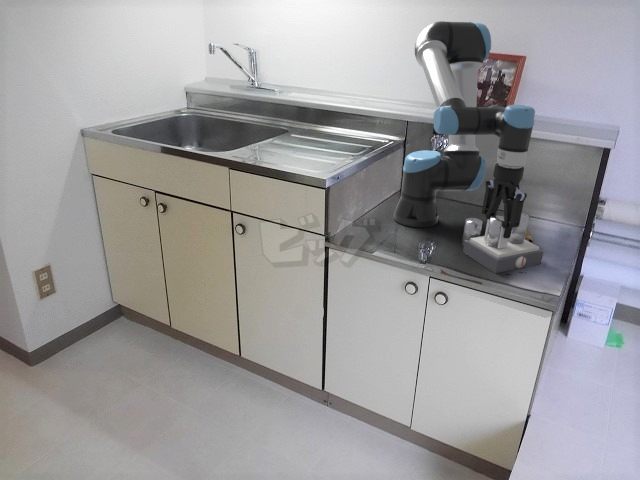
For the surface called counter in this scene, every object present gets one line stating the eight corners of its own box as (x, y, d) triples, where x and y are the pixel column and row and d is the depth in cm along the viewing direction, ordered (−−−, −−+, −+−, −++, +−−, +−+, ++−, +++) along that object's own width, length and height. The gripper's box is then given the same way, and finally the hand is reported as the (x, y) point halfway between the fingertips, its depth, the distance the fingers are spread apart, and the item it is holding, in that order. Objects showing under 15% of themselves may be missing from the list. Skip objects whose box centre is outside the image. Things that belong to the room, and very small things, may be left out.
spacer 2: (481, 242, 149) (486, 216, 146) (495, 240, 151) (500, 214, 148) (493, 249, 145) (498, 222, 142) (507, 246, 147) (512, 220, 144)
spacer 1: (458, 242, 161) (462, 219, 158) (471, 240, 163) (475, 217, 159) (468, 249, 157) (472, 224, 153) (481, 246, 159) (486, 222, 155)
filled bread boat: (517, 231, 172) (520, 218, 170) (536, 249, 159) (539, 236, 157) (502, 230, 171) (504, 218, 170) (519, 249, 158) (522, 236, 157)
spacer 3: (502, 238, 152) (507, 213, 149) (515, 236, 154) (520, 211, 151) (514, 245, 148) (519, 219, 145) (527, 242, 150) (533, 217, 147)
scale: (462, 252, 154) (465, 237, 152) (506, 244, 161) (509, 230, 159) (497, 274, 142) (500, 257, 140) (542, 264, 148) (546, 248, 146)
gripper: (476, 157, 145) (464, 233, 154) (524, 175, 130) (507, 258, 139) (497, 155, 147) (484, 230, 157) (546, 172, 133) (528, 254, 142)
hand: (495, 243), depth 148 cm, fingers closed on spacer 2, 5 cm apart
